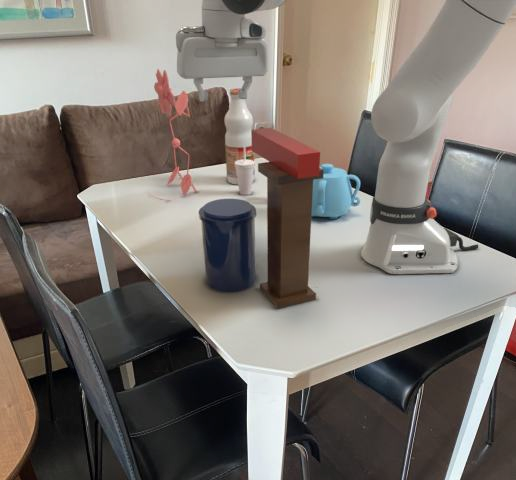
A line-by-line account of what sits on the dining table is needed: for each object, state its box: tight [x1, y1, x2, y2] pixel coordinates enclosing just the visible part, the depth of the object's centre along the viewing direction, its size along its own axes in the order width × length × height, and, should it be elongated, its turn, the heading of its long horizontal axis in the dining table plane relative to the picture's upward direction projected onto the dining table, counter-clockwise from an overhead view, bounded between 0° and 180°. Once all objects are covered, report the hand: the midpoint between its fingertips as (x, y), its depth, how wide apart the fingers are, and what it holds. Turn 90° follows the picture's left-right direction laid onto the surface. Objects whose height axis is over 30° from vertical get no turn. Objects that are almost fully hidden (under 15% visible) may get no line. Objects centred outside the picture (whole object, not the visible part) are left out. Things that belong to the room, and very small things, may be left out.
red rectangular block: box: [251, 127, 321, 179], centre depth 93 cm, size 20×4×4 cm, turn 24°
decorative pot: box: [311, 163, 361, 220], centre depth 142 cm, size 16×16×14 cm
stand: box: [257, 161, 324, 310], centre depth 100 cm, size 9×9×27 cm
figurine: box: [149, 68, 198, 202], centre depth 152 cm, size 15×26×35 cm, turn 29°
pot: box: [198, 198, 257, 293], centre depth 109 cm, size 12×12×17 cm
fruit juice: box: [224, 88, 256, 186], centre depth 163 cm, size 9×9×28 cm
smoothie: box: [234, 147, 256, 196], centre depth 157 cm, size 6×6×14 cm
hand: (223, 99), depth 112 cm, fingers open, 8 cm apart
